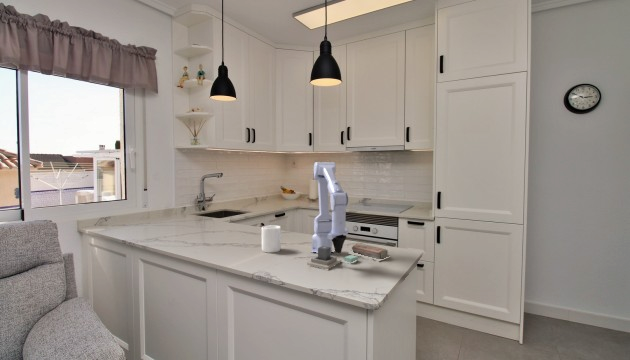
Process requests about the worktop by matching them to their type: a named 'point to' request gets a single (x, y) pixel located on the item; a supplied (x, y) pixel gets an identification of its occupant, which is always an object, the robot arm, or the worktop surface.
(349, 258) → the cable plug
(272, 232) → the mug
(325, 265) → the plate
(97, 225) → the worktop surface
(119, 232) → the worktop surface
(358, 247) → the packaged product
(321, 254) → the block
